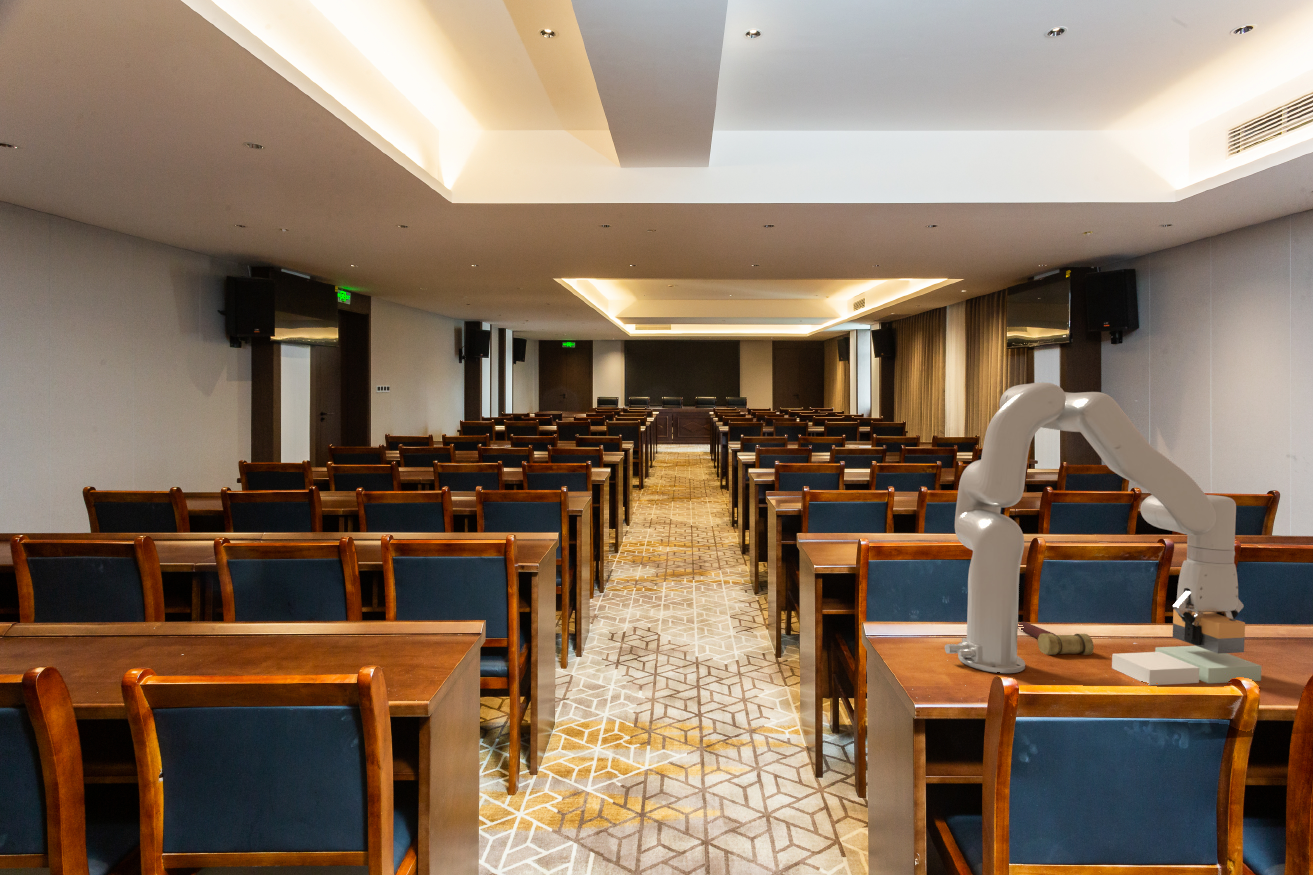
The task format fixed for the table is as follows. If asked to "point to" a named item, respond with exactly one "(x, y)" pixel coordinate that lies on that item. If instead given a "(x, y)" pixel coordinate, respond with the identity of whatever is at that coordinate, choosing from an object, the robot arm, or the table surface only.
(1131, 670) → the stand
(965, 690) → the table surface
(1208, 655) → the stand
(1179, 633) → the housing base
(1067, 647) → the gavel
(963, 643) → the robot arm
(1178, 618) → the housing cover
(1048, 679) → the table surface
